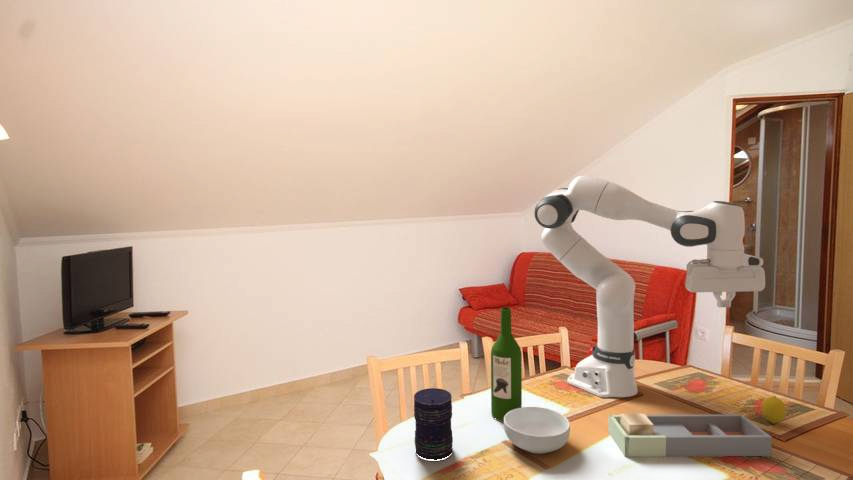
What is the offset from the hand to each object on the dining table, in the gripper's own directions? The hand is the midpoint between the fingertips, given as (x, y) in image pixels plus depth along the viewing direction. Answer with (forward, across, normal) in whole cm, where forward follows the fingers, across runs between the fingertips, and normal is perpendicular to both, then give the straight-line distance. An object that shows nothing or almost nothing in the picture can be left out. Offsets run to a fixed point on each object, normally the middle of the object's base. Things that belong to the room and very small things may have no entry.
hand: (723, 306), depth 135 cm
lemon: (+33, +12, -4) cm, 35 cm away
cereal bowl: (+32, -56, -18) cm, 67 cm away
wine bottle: (+32, -62, -1) cm, 70 cm away
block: (+29, -30, -17) cm, 45 cm away
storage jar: (+32, -83, -21) cm, 91 cm away
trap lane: (+32, -17, -16) cm, 40 cm away
